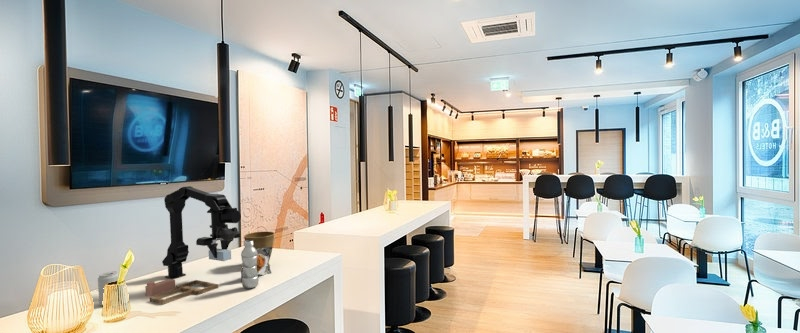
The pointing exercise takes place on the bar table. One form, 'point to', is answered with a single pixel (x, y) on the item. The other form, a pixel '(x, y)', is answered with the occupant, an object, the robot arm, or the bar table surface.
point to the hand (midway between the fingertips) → (219, 256)
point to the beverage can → (105, 282)
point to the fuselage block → (159, 287)
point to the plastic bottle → (249, 265)
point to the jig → (186, 290)
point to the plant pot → (261, 240)
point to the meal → (261, 262)
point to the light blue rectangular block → (221, 255)
